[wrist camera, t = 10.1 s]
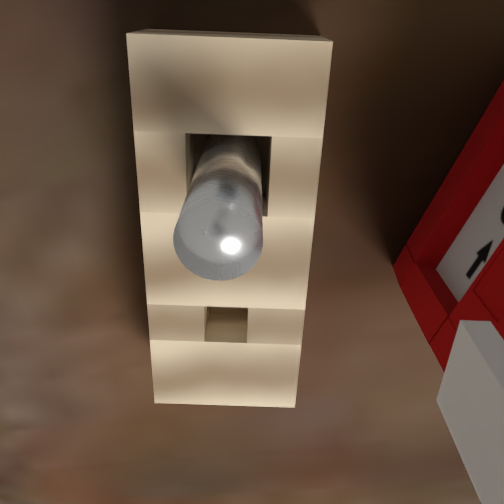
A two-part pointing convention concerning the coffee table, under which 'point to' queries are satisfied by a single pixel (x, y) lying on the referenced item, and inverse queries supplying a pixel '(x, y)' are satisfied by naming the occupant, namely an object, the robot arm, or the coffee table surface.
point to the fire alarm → (461, 242)
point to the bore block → (273, 206)
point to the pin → (222, 210)
